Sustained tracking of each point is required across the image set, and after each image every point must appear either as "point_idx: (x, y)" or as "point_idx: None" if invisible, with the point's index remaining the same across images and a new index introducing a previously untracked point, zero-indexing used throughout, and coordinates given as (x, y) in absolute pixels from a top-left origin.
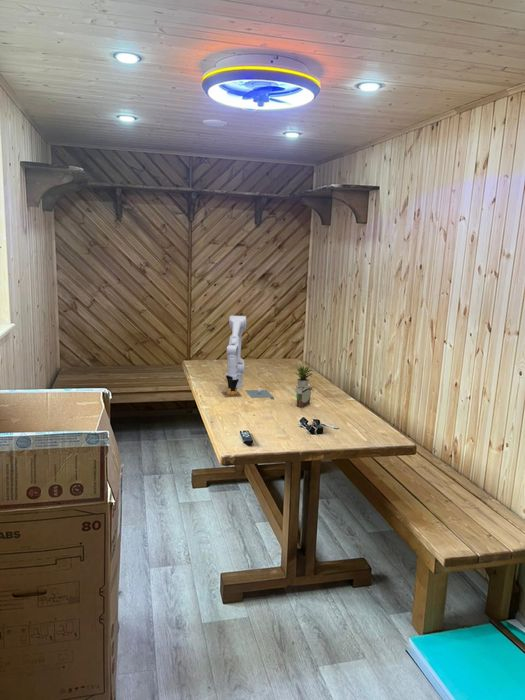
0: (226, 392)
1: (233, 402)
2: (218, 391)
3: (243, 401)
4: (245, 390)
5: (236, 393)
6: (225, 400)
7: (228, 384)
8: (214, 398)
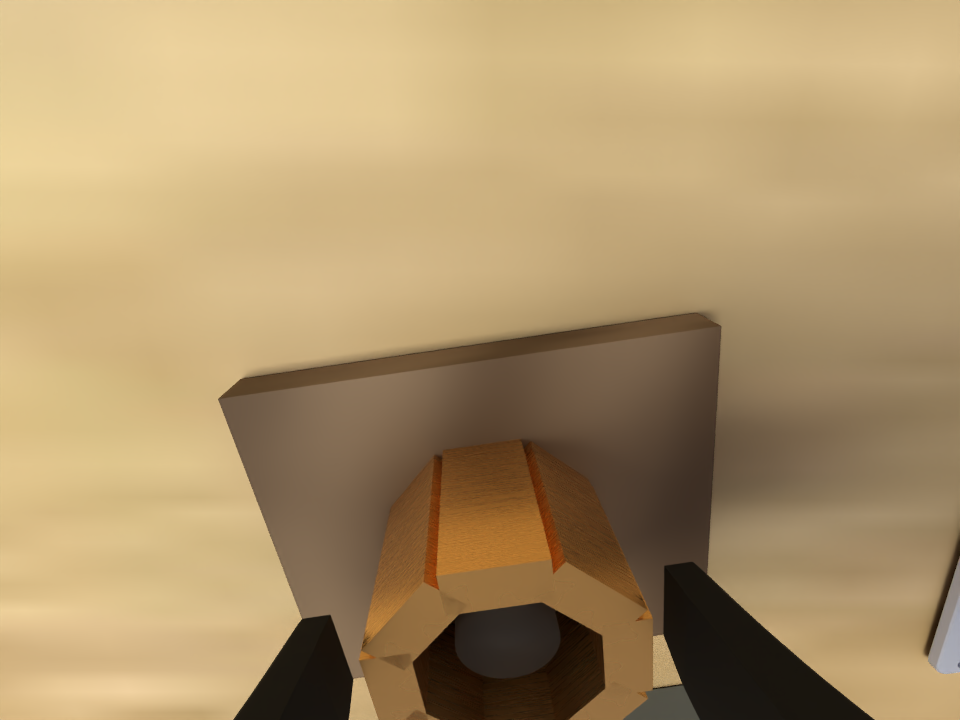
0: (668, 435)
1: (50, 526)
2: (953, 251)
3: (176, 658)
4: None
5: None
6: (158, 392)
7: (726, 649)
8: (285, 139)
